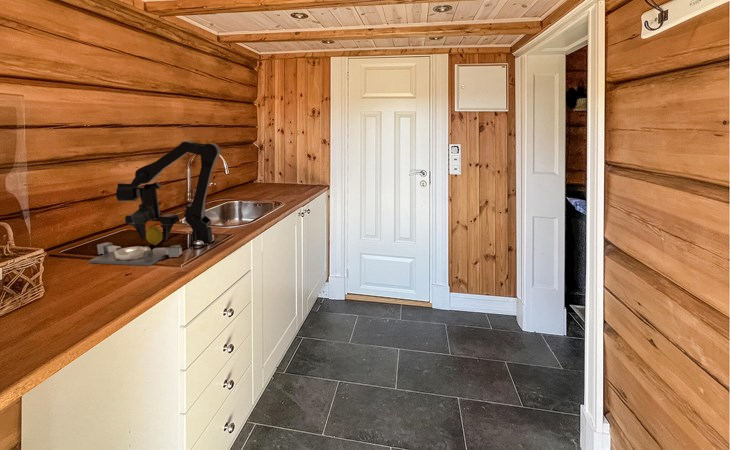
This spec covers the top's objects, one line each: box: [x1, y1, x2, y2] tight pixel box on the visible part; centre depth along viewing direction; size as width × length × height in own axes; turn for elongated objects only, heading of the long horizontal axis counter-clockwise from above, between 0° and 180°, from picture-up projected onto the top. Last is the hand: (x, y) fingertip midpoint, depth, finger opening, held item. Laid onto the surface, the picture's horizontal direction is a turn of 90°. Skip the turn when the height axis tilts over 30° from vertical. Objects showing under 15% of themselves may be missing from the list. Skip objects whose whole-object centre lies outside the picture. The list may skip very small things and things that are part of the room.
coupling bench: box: [88, 242, 183, 267], centre depth 140 cm, size 31×14×4 cm, turn 82°
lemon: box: [145, 225, 163, 246], centre depth 155 cm, size 6×6×8 cm
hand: (154, 240), depth 155 cm, fingers open, 9 cm apart
